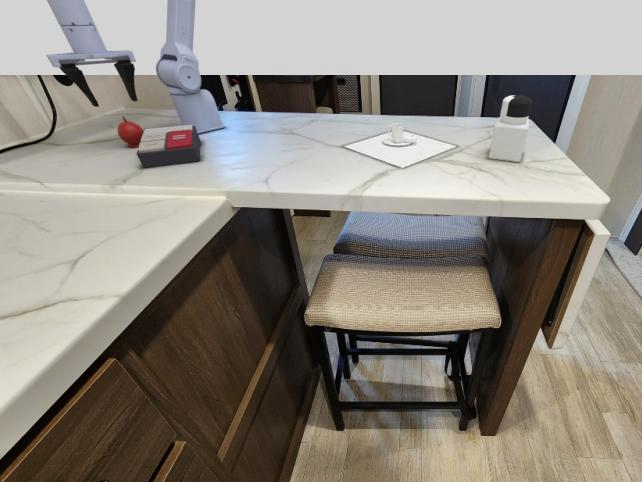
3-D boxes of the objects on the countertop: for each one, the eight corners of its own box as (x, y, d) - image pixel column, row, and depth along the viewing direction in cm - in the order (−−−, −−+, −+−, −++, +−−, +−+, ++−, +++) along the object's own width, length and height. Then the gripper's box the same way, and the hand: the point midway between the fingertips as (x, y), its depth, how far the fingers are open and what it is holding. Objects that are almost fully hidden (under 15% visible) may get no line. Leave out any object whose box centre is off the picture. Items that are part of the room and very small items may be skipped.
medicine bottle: (522, 152, 79) (536, 94, 71) (520, 162, 74) (535, 102, 66) (492, 148, 81) (503, 92, 73) (488, 158, 76) (499, 98, 68)
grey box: (133, 150, 67) (141, 126, 76) (144, 171, 70) (151, 145, 80) (193, 143, 70) (193, 121, 80) (201, 163, 73) (200, 140, 83)
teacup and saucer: (422, 142, 83) (423, 125, 81) (400, 150, 79) (401, 132, 76) (397, 135, 88) (397, 118, 85) (375, 142, 83) (375, 124, 81)
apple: (144, 140, 83) (130, 112, 79) (153, 144, 81) (139, 115, 76) (121, 145, 80) (106, 116, 76) (130, 150, 78) (114, 120, 73)
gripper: (36, 26, 59) (83, 111, 68) (126, 25, 68) (157, 101, 77) (26, 24, 62) (72, 106, 71) (113, 24, 71) (145, 96, 80)
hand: (116, 103), depth 74 cm, fingers open, 7 cm apart
